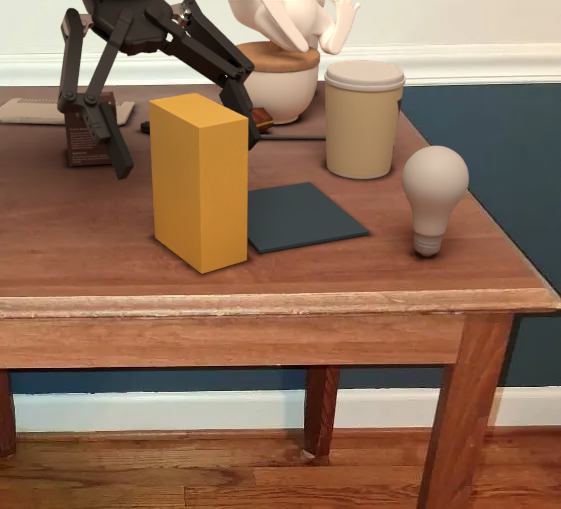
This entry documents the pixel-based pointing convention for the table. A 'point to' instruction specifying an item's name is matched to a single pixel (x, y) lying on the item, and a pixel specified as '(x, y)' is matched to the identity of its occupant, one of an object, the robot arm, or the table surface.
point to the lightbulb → (433, 193)
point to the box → (86, 138)
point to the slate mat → (296, 218)
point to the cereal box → (200, 180)
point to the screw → (293, 136)
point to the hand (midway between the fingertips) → (192, 158)
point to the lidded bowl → (281, 79)
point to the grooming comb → (47, 111)
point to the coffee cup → (362, 117)
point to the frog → (297, 22)
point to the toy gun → (258, 114)
